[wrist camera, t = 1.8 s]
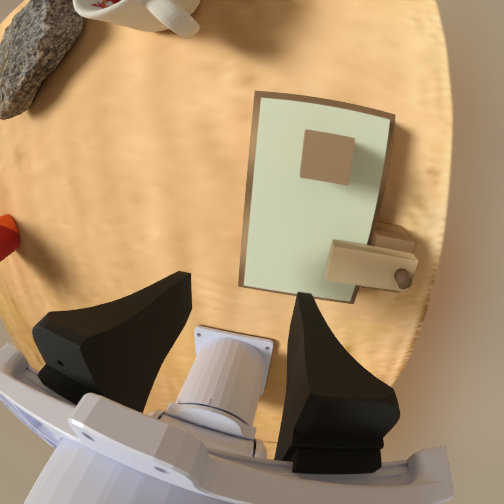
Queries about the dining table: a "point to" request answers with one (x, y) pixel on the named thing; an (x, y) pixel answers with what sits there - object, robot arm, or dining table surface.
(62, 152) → the dining table surface
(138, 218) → the dining table surface
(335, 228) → the lid
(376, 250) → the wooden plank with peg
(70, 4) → the rock
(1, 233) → the paper cup
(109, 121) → the dining table surface
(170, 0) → the cup
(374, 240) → the wooden tray
